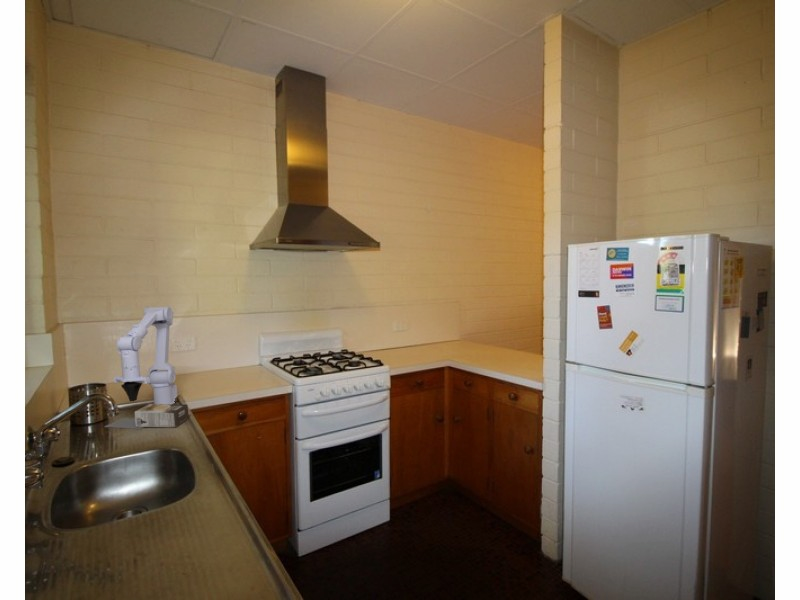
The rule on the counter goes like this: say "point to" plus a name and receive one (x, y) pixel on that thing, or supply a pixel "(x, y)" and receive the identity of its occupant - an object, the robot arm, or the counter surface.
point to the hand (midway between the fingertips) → (133, 400)
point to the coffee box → (161, 415)
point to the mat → (124, 424)
